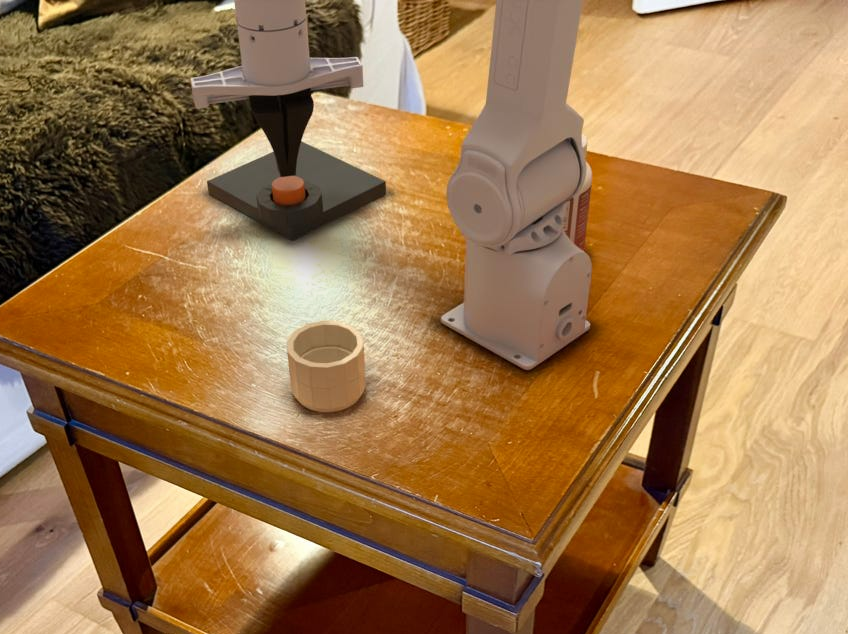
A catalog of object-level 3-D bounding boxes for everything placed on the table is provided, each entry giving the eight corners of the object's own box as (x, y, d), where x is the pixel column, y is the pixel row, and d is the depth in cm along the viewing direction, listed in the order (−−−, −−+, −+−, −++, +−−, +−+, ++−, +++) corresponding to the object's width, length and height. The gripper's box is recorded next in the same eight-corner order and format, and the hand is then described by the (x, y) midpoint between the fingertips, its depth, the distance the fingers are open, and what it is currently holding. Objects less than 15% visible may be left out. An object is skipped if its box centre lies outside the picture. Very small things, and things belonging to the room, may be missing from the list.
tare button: (312, 198, 94) (311, 182, 93) (287, 210, 92) (285, 194, 91) (291, 187, 95) (289, 172, 94) (266, 199, 94) (264, 183, 93)
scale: (389, 195, 99) (389, 167, 97) (288, 247, 93) (285, 218, 91) (300, 152, 106) (297, 125, 104) (200, 197, 100) (196, 169, 98)
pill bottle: (554, 230, 93) (566, 115, 86) (597, 261, 89) (613, 143, 81) (498, 250, 91) (505, 134, 83) (540, 283, 87) (550, 163, 79)
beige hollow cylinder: (381, 389, 77) (379, 342, 74) (325, 425, 74) (321, 377, 71) (332, 358, 80) (328, 311, 77) (276, 391, 77) (270, 344, 74)
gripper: (347, -8, 87) (354, 140, 96) (178, 12, 85) (202, 162, 94) (366, 21, 82) (372, 175, 91) (186, 43, 80) (211, 198, 89)
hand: (286, 171), depth 92 cm, fingers closed
